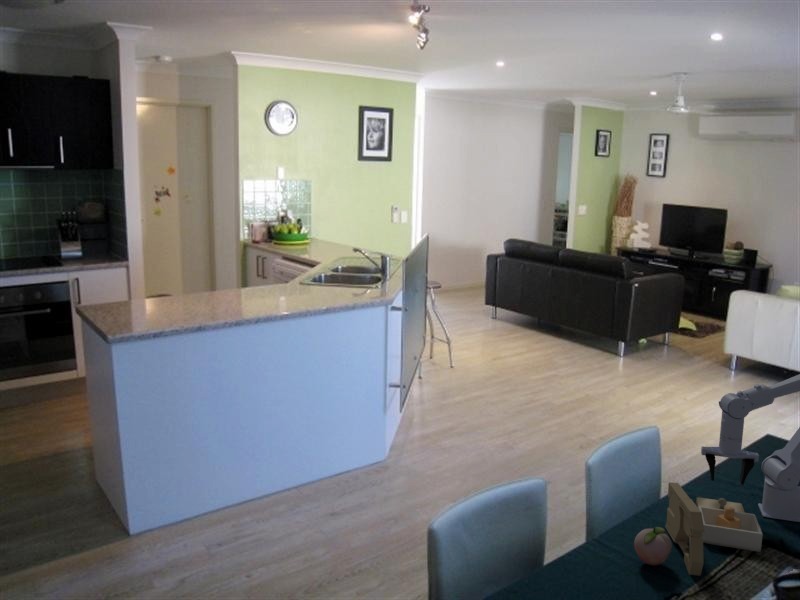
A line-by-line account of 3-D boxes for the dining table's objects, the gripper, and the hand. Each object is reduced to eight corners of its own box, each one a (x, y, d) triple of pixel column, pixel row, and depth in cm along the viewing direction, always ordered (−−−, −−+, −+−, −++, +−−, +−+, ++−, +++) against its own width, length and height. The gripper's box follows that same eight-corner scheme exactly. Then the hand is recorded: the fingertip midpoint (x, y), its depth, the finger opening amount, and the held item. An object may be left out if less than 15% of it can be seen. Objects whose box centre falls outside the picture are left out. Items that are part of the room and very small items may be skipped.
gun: (704, 579, 157) (707, 518, 155) (689, 578, 157) (692, 517, 156) (676, 535, 181) (679, 482, 179) (664, 534, 181) (666, 481, 180)
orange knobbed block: (726, 529, 178) (729, 503, 177) (739, 536, 175) (741, 510, 174) (715, 532, 177) (718, 506, 176) (727, 539, 173) (730, 513, 172)
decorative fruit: (640, 550, 169) (643, 514, 167) (673, 562, 164) (676, 525, 162) (627, 566, 162) (629, 529, 160) (661, 579, 156) (664, 540, 155)
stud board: (740, 508, 192) (742, 492, 191) (748, 528, 180) (749, 511, 180) (696, 501, 196) (697, 486, 195) (700, 520, 184) (701, 504, 183)
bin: (753, 531, 179) (754, 514, 178) (760, 552, 168) (762, 534, 168) (697, 522, 183) (698, 506, 182) (701, 542, 173) (702, 524, 172)
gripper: (704, 437, 184) (700, 483, 187) (762, 444, 180) (757, 491, 182) (702, 429, 191) (698, 473, 193) (757, 435, 186) (753, 480, 188)
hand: (726, 481), depth 188 cm, fingers open, 7 cm apart
